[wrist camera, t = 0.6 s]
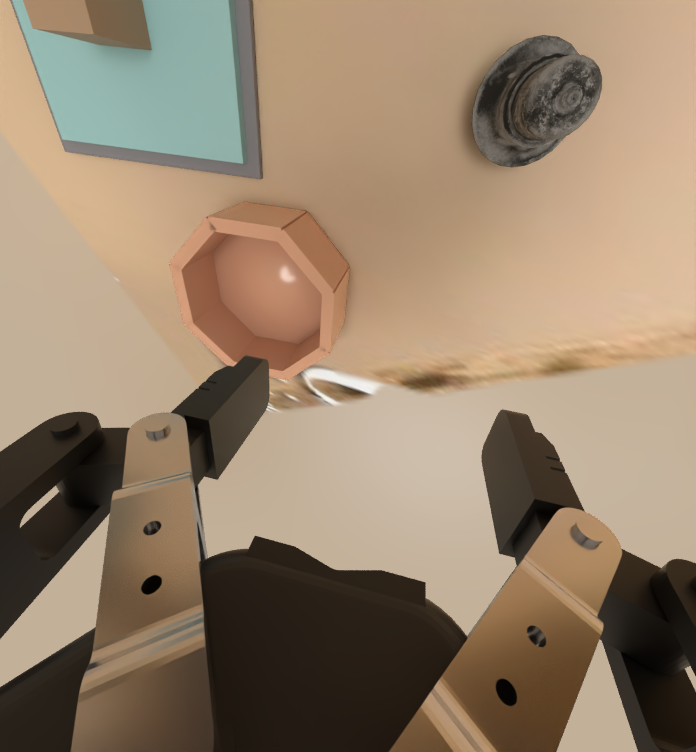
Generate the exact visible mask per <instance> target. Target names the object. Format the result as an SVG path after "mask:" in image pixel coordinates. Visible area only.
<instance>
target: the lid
mask: <svg viewBox="0 0 696 752" xmlns="http://www.w3.org/2000/svg"><path fill="white" fill-rule="evenodd" d="M12 2H13V4H14V7H15V10H16V13H17V15H18V18H19V21H20V24H21V26H22V29H23V32H24V35H25V38H26V40H27V43H28V46H29V49H30V51H31V54H32V57H33V60H34V63H35V65H36V68H37V71H38V74H39V76H40V79H41V82H42V85H43V87H44V90H45V93H46V96H47V99H48V101H49V104H50V107H51V110H52V112H53V115H54V118H55V121H56V124H57V126H58V129H59V132H60V135H61V137H62V139H63V140H70V141H78V142H85V143H92V144H100V145H107V146H115V147H122V148H129V149H137V150H144V151H151V152H159V153H166V154H174V155H181V156H188V157H196V158H203V159H210V160H218V161H225V162H233V163H240V164H245V163H247V151H246V139H245V127H244V114H243V102H242V90H241V78H240V65H239V53H238V41H237V29H236V16H235V4H234V0H12Z"/></svg>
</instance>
